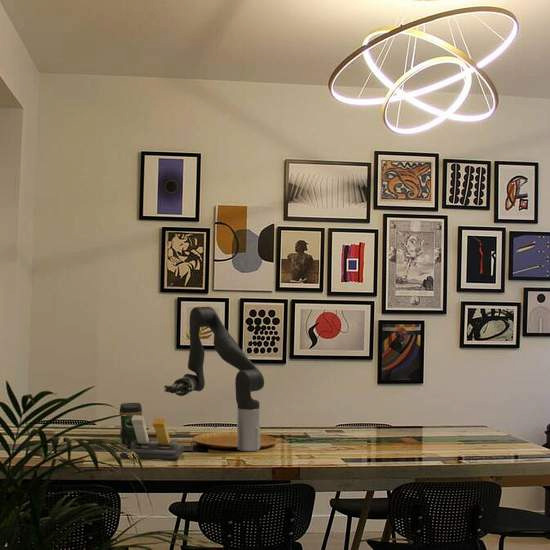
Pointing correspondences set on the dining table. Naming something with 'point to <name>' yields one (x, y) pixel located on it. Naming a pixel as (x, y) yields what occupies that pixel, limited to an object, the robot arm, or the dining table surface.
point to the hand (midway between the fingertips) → (172, 390)
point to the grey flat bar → (152, 454)
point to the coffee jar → (128, 422)
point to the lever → (140, 430)
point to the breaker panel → (155, 446)
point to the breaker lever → (161, 432)
